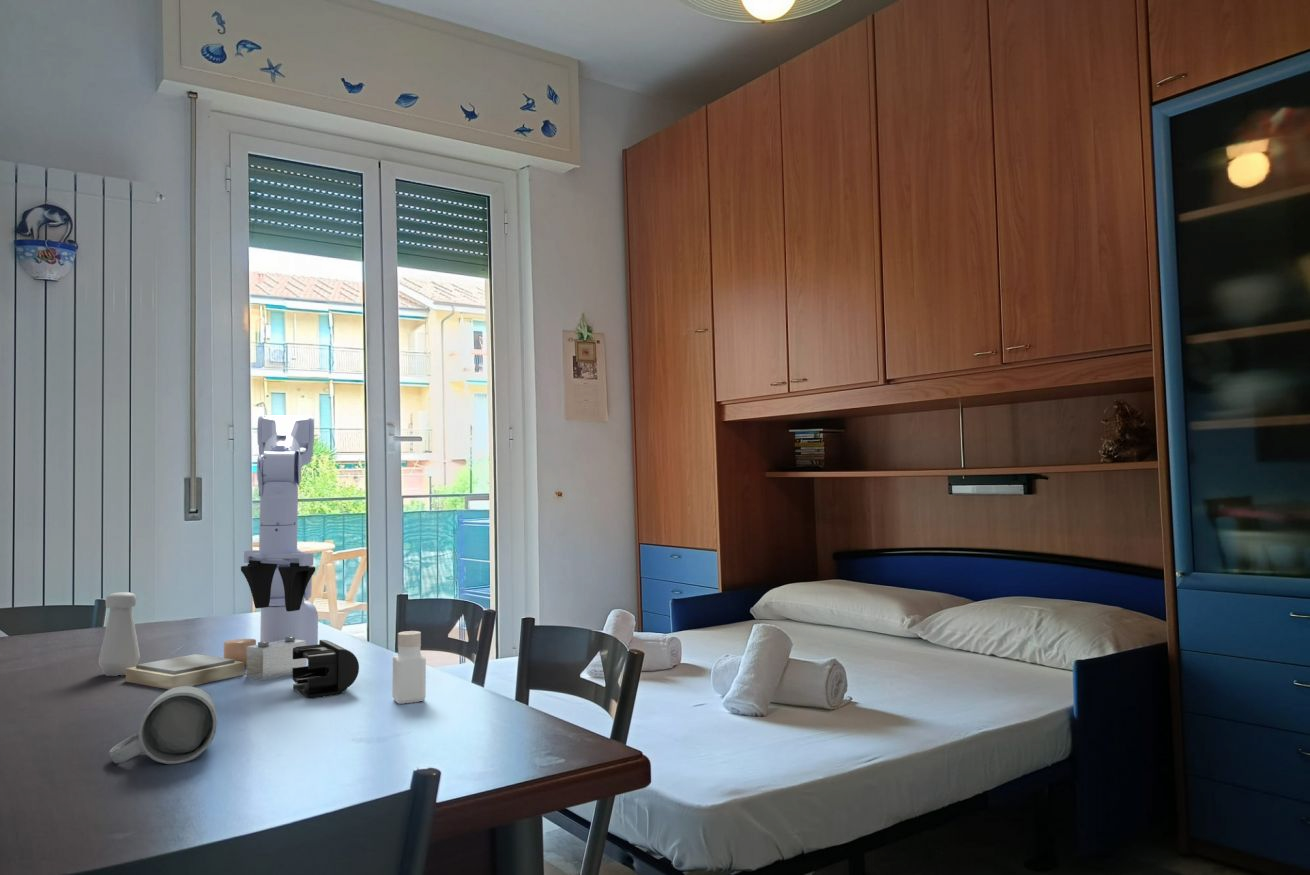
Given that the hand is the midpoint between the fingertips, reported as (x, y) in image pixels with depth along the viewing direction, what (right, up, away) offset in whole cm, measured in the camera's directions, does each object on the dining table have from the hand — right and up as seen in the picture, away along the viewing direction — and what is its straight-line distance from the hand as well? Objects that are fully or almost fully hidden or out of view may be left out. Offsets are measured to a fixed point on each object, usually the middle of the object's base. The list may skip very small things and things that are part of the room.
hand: (277, 609), depth 146 cm
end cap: (+12, -10, -12) cm, 20 cm away
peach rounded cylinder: (-9, -11, +7) cm, 16 cm away
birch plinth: (-13, -10, -3) cm, 17 cm away
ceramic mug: (+6, -9, -44) cm, 46 cm away
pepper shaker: (+26, -10, -19) cm, 34 cm away
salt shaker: (-26, -11, 0) cm, 28 cm away
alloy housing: (0, -11, -1) cm, 10 cm away
